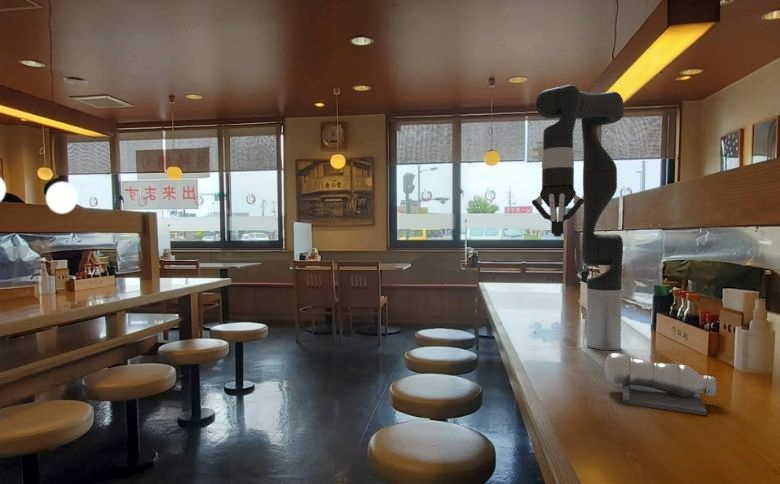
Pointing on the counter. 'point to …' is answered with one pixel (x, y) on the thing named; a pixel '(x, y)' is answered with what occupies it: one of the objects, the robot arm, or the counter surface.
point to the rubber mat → (662, 399)
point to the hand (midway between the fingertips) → (557, 236)
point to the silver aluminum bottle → (657, 376)
